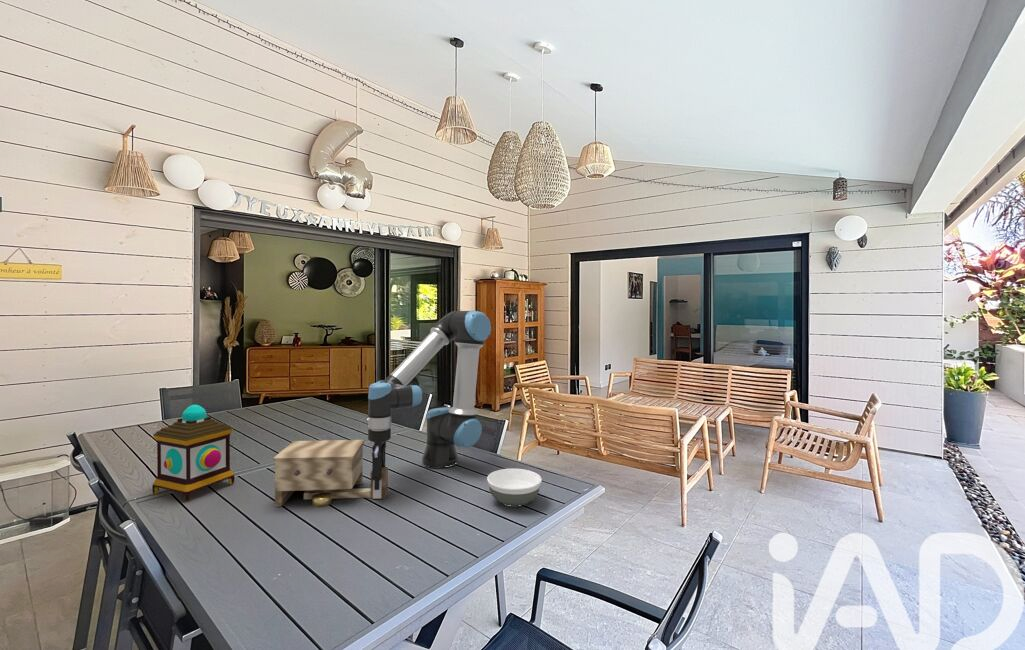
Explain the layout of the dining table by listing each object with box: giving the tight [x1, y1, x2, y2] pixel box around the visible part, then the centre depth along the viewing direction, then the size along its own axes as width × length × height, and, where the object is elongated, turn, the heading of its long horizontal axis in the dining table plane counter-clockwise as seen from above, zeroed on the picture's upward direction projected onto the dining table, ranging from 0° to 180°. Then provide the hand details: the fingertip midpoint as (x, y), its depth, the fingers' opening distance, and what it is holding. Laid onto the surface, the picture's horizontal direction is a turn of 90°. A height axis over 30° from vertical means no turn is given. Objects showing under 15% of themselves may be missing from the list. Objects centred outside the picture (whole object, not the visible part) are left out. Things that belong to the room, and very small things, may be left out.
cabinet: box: [272, 439, 366, 507], centre depth 156 cm, size 25×20×16 cm
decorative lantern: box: [151, 404, 235, 502], centre depth 158 cm, size 20×20×30 cm
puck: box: [311, 492, 333, 508], centre depth 149 cm, size 6×6×2 cm
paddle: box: [303, 466, 389, 500], centre depth 154 cm, size 27×5×9 cm, turn 97°
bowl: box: [486, 468, 543, 506], centre depth 153 cm, size 19×19×8 cm
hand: (378, 494), depth 156 cm, fingers closed on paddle, 5 cm apart
